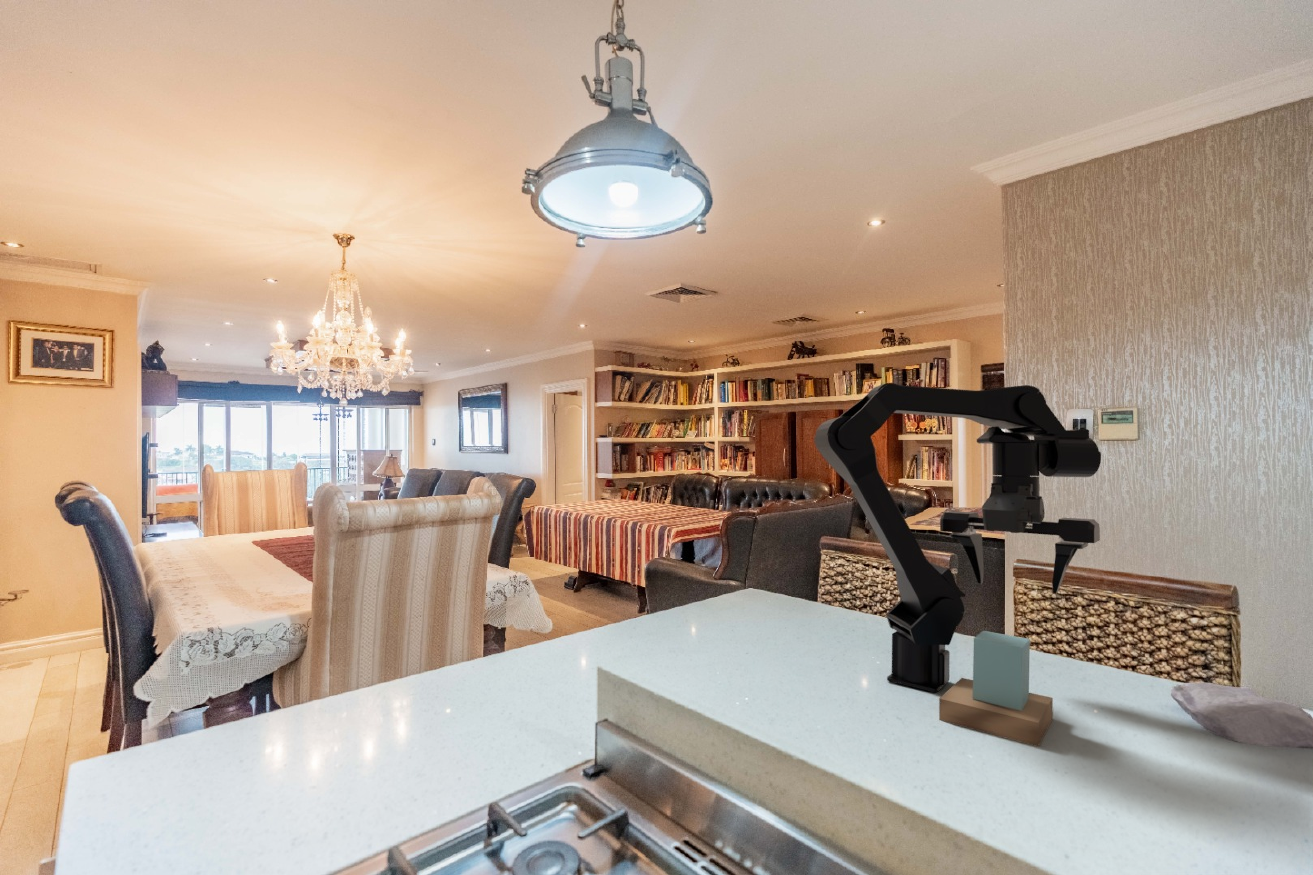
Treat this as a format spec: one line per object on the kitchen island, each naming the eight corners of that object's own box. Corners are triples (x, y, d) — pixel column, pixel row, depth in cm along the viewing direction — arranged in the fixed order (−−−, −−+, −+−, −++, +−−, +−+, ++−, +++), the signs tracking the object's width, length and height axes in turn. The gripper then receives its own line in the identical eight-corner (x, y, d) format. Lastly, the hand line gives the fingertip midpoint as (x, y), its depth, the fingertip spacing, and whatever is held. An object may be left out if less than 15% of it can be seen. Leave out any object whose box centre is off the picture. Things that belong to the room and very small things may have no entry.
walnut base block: (939, 724, 73) (939, 698, 73) (961, 701, 80) (961, 677, 80) (1038, 751, 66) (1038, 722, 66) (1052, 723, 74) (1052, 697, 74)
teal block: (972, 698, 73) (973, 638, 73) (981, 687, 77) (983, 630, 77) (1021, 710, 70) (1022, 647, 70) (1028, 698, 74) (1029, 639, 74)
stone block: (1232, 761, 68) (1332, 750, 67) (1220, 716, 69) (1320, 704, 68) (1160, 721, 80) (1244, 712, 79) (1151, 683, 81) (1234, 673, 80)
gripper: (927, 474, 88) (927, 586, 87) (1086, 478, 75) (1088, 608, 74) (952, 474, 96) (952, 576, 95) (1099, 478, 83) (1101, 595, 83)
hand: (1016, 588), depth 87 cm, fingers open, 9 cm apart
